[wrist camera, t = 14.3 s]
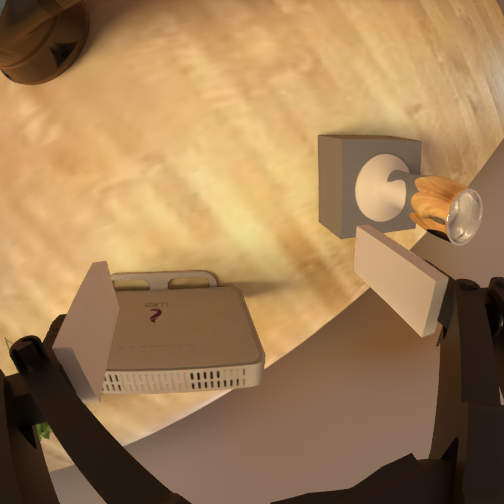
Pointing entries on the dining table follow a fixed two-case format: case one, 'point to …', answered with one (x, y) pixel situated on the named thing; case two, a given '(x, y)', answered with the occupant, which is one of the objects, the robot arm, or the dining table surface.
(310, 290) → the dining table surface
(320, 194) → the plate
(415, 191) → the beer glass
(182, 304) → the network device
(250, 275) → the dining table surface
